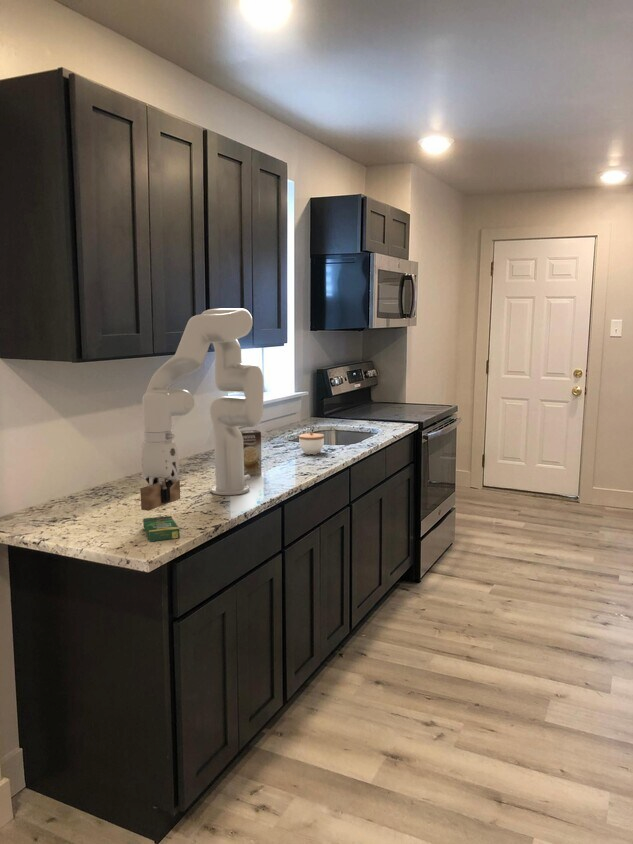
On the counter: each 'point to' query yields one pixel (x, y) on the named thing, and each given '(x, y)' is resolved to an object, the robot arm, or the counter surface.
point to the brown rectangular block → (157, 495)
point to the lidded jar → (311, 442)
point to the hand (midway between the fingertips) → (161, 500)
